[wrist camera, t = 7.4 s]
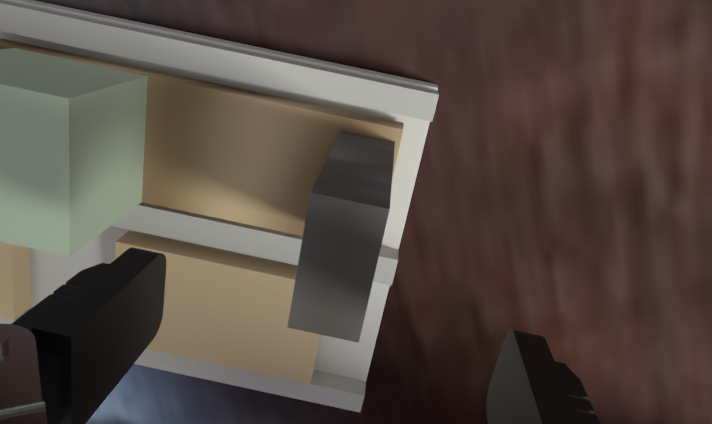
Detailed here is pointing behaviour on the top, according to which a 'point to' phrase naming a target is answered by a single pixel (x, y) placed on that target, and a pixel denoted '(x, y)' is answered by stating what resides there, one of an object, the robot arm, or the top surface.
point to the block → (67, 149)
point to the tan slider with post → (274, 180)
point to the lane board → (223, 237)
